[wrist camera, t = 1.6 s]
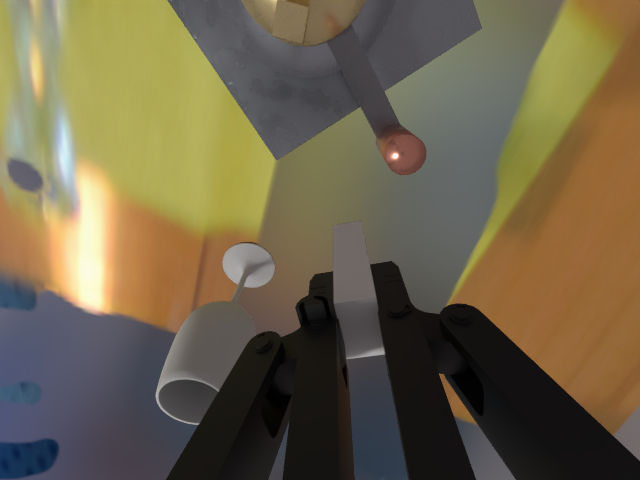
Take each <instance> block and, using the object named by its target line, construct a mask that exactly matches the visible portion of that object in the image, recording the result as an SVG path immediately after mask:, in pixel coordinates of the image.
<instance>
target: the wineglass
mask: <svg viewBox="0 0 640 480" xmlns="http://www.w3.org/2000/svg"><path fill="white" fill-rule="evenodd" d="M223 268H224V271H225V273H226V274H227V276H228V277H229V278H230V279H231V280H232V281H233V282H235V283H237V284H238V286H237V288H236V290H235V293H234V295H233V297H232V300H231V301H230V302H227V301H217V302H211V303H207V304H205V305H203V306H201V307H199V308H198V309H196V310H195V311H193V312H192V313H191V314H190V315H189V316H188V317H187V319H186V320H185V321H184V323H183V324H182V326H181V328H180V329H179V331H178V333H177V335H176V337H175V339H174V342H173V344H172V346H171V349H170V351H169V354H168V357H167V359H166V362H165V365H164V368H163V371H162V373H161V377H160V380H159V383H158V387H157V391H156V400H157V403H158V405H159V406H160V408H161V409H162V410H163V411H164V412H165V413H166V414H167V415H169V416H171V417H172V418H174V419H176V420H178V421H181V422H185V423H188V424H196V425H199V423H200V422H201V420H202V418H203V417H204V415H205V413H206V412H207V410H208V408H209V407H210V405H211V403H212V402H213V400H214V398H215V397H216V395H217V393H218V392H219V390H220V388H221V386H222V385H223V383H224V381H225V380H226V378H227V376H228V375H229V373H230V371H231V370H232V368H233V366H234V365H235V363H236V361H237V360H238V358H239V356H240V355H241V353H242V351H243V350H244V348H245V346H246V345H247V343H248V342H249V341H250V340H251V338H253V337H254V336H256V329H255V326H254V322H253V320H252V318H251V317H250V315H249V314H248V313H247V312H246V311H245V310H244V309H243V308H242V307H240V306H238V305H237V302H238V299H239V296H240V294H241V292H242V289H243V287H259V286H262V285H264V284H266V283H267V282H268V281H270V279H271V278H272V277H273V274H274V271H275V263H274V260H273V258H272V256H271V254H270V253H269V252H268V251H267V250H266V249H264V248H263V247H261V246H259V245H257V244H254V243H248V242H247V243H239V244H235V245H234V246H232V247H230V248H229V249H228V250H227V252H226V253H225V255H224V258H223Z"/></svg>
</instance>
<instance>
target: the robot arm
mask: <svg viewBox="0 0 640 480" xmlns="http://www.w3.org/2000/svg"><path fill="white" fill-rule="evenodd" d="M295 308H296V311H297V315H298V318H299V321H300V324H301V327H300V328H299V329H298V330H296V331H295V332H293V333H291V334H288V335H286V336H284V337H280V335H279V334H277V333H276V332H272V331H268V332H262V333H260V334H257V335H256V336H254V337H253V338H251V340H250V341H249V342H248V343H247V345H246V346H245V348H244V350H243V351H242V353H241V355H240V356H239V358H238V360H237V361H236V363H235V365H234V366H233V368H232V370H231V371H230V373H229V375H228V376H227V378H226V380H225V381H224V383H223V385H222V386H221V388H220V390H219V392H218V393H217V395H216V397H215V398H214V400H213V402H212V403H211V405H210V407H209V408H208V410H207V412H206V413H205V415H204V417H203V418H202V420H201V422H200V423H199V425H198V427H197V428H196V430H195V432H194V433H193V435H192V437H191V439H190V440H189V442H188V444H187V445H186V447H185V449H184V451H183V452H182V454H181V455H180V457H179V459H178V460H177V462H176V464H175V465H174V467H173V469H172V470H171V472H170V474H169V476H168V477H167V479H166V480H268V478H269V476H270V473H271V470H272V467H273V464H274V461H275V459H276V456H277V453H278V450H279V448H280V445H281V442H282V439H283V436H284V434H285V431H286V428H287V425H288V422H289V429H288V438H287V446H286V455H285V463H284V471H283V480H355V476H354V459H353V443H352V427H351V426H352V425H351V409H350V393H349V377H348V376H349V375H348V368H347V364H346V357H347V359H351V358H359V357H366V356H374V355H383V354H385V358H386V364H387V370H388V376H389V380H390V386H391V391H392V396H393V402H394V407H395V413H396V418H397V424H398V429H399V434H400V440H401V444H402V451H403V456H404V461H405V467H406V472H407V477H408V480H476V478H475V476H474V472H473V470H472V467H471V464H470V461H469V458H468V456H467V453H466V450H465V447H464V444H463V441H462V438H461V436H460V433H459V430H458V427H457V424H456V421H455V419H454V416H453V413H452V410H451V407H450V404H449V402H448V399H447V396H446V393H445V390H444V387H443V385H442V382H441V379H440V376H439V373H440V374H444V376H445V378H446V379H447V381H448V382H449V384H450V385H451V387H452V388H453V390H454V391H455V392H456V394H457V395H458V397H459V398H460V400H461V401H462V403H463V404H464V405H465V407H466V408H467V410H468V411H469V413H470V414H471V415H472V417H473V418H474V420H475V421H476V423H477V424H478V426H479V427H480V428H481V430H482V431H483V433H484V434H485V435H486V437H487V438H488V440H489V441H490V443H491V444H492V446H493V447H494V449H495V450H496V452H497V453H498V454H499V456H500V457H501V458H502V460H503V462H504V463H505V464H506V466H507V467H508V469H509V470H510V471H511V473H512V474H513V476H514V477H515V479H516V480H640V461H639V460H638V459H637V458H636V457H635V456H634V455H633V454H632V453H631V452H629V450H627V449H626V448H625V447H624V446H623V445H622V444H621V443H620V442H619V441H618V440H617V439H616V438H615V437H614V436H613V435H611V434H610V433H609V432H608V431H607V430H606V429H605V428H604V427H603V426H602V425H601V424H600V423H599V422H598V421H597V420H596V419H594V418H593V417H592V416H591V415H590V414H589V413H588V412H587V411H586V410H585V409H584V408H583V407H582V406H581V405H580V404H578V403H577V402H576V401H575V400H574V399H573V398H572V397H571V396H570V395H569V394H568V393H567V392H566V391H565V390H564V389H563V388H561V387H560V386H559V385H558V384H557V383H556V382H555V381H554V380H553V379H552V378H551V377H550V376H549V375H548V374H547V373H545V372H544V371H543V370H542V369H541V368H540V367H539V366H538V365H537V364H536V363H535V362H534V361H533V360H532V359H531V358H529V357H528V356H527V355H526V354H525V353H524V352H523V351H522V350H521V349H520V348H519V347H518V346H517V345H516V344H515V343H514V342H512V341H511V340H510V339H509V338H508V337H507V336H506V335H505V334H504V333H503V332H502V331H501V330H500V329H499V328H498V327H496V326H495V325H494V324H493V323H492V322H491V321H490V320H489V319H488V318H487V317H486V316H485V315H484V314H483V313H482V312H481V311H479V310H478V309H476V308H475V307H473V306H470V305H467V304H452V305H449V306H447V307H445V308H443V310H442V311H441V312H440V314H434V313H427V312H423V311H420V310H418V309H416V308H415V307H414V305H413V304H412V303H411V302H410V299H409V297H408V293H407V290H406V287H405V285H404V282H403V279H402V276H401V273H400V270H399V267H398V266H397V265H396V264H394V263H393V262H392V261H390V262H383V263H377V264H371V265H370V263H369V258H368V253H367V248H366V243H365V238H364V233H363V228H362V223H361V221H355V222H350V223H343V224H338V225H333V271H332V272H326V273H320V274H315V275H314V276H313V278H312V279H311V281H310V286H309V295H308V296H306V297H304V298H302V299H301V300H300V301H299V302H298V303H297V305H296V307H295Z"/></svg>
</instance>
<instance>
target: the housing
mask: <svg viewBox="0 0 640 480" xmlns="http://www.w3.org/2000/svg"><path fill="white" fill-rule="evenodd" d="M168 2H169V3H170V5H171V6H172V8H173V9H174V11H175V12H176V13H177V15H178V16H179V18H180V19H181V21H182V22H183V24H184V25H185V27H186V28H187V30H188V31H189V33H190V34H191V35H192V37H193V38H194V40H195V41H196V43H197V44H198V46H199V47H200V49H201V50H202V52H203V53H204V55H205V56H206V58H207V59H208V60H209V62H210V63H211V65H212V66H213V68H214V69H215V71H216V72H217V74H218V75H219V77H220V78H221V80H222V81H223V83H224V84H225V85H226V87H227V88H228V90H229V91H230V93H231V94H232V96H233V97H234V99H235V100H236V102H237V103H238V105H239V106H240V107H241V109H242V110H243V112H244V113H245V115H246V116H247V118H248V119H249V121H250V122H251V124H252V125H253V127H254V128H255V130H256V131H257V132H258V134H259V135H260V137H261V138H262V140H263V141H264V143H265V144H266V146H267V147H268V149H269V150H270V152H271V153H272V155H273V156H274V157H275V159H276V160H278V159H280V158H281V157H283V156H284V155H286V154H287V153H289V152H291V151H292V150H294V149H295V148H297V147H298V146H300V145H301V144H303V143H305V142H306V141H308V140H309V139H311V138H312V137H314V136H315V135H317V134H319V133H320V132H322V131H323V130H325V129H326V128H328V127H329V126H331V125H333V124H334V123H335V122H337V121H339V120H340V119H342V118H343V117H345V116H346V115H348V114H350V113H351V112H353V111H354V110H356V109H357V108H359V107H360V105H359V103H358V101H357V99H356V97H355V96H354V94H353V92H352V90H351V88H350V86H349V84H348V82H347V80H346V78H345V77H344V75H343V73H342V71H341V69H340V67H339V65H338V63H337V61H336V59H335V58H334V56H333V54H332V52H331V50H330V48H329V46H328V44H327V43H325V44H322V45H318V46H313V47H300V46H294V45H291V44H288V43H285V42H283V41H281V40H279V39H277V38H275V37H274V36H272V35H271V34H270V33H268V32H267V31H265V30H264V29H263V28H262V27H261V26H260V25H259V24H258V23H257V22H256V21H255V20H254V19H253V18H252V16H251V15H250V14H249V12H248V11H247V9H246V8H245V6H244V4H243V2H242V0H168ZM352 27H353V29H354V31H355V33H356V35H357V37H358V39H359V41H360V43H361V45H362V47H363V49H364V51H365V53H366V55H367V57H368V59H369V61H370V64H371V66H372V68H373V70H374V72H375V74H376V76H377V78H378V80H379V82H380V84H381V86H382V88H383V90H384V91H385V90H387V89H388V88H390V87H392V86H393V85H395V84H396V83H398V82H399V81H401V80H402V79H404V78H405V77H407V76H408V75H410V74H412V73H413V72H415V71H416V70H418V69H419V68H421V67H423V66H424V65H426V64H427V63H429V62H430V61H432V60H433V59H435V58H436V57H438V56H440V55H441V54H443V53H444V52H446V51H447V50H449V49H451V48H452V47H454V46H455V45H457V44H458V43H460V42H461V41H463V40H464V39H466V38H467V37H469V36H471V35H472V34H474V33H475V32H477V31H478V30H480V29H482V27H481V24H480V21H479V18H478V15H477V12H476V9H475V6H474V3H473V0H366V1H365V3H364V5H363V7H362V9H361V11H360V12H359V14H358V16H357V17H356V19H355V20H354V22H353V23H352Z"/></svg>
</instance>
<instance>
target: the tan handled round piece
mask: <svg viewBox="0 0 640 480" xmlns="http://www.w3.org/2000/svg"><path fill="white" fill-rule="evenodd" d="M365 1H366V0H242V2H243V4H244V6H245V8H246V9H247V11H248V12H249V14H250V15H251V16H252V18H253V19H254V20H255V21H256V22H257V23H258V24H259V25H260V26H261V27H262V28H263V29H264V30H265V31H267V32H268V33H270V34H271V35H272V36H274V37H275V38H277V39H279V40H281V41H283V42H285V43H288V44H291V45H294V46H300V47H313V46H318V45H322V44H325V43H327V44H328V46H329V48H330V50H331V52H332V54H333V56H334V58H335V59H336V61H337V63H338V65H339V67H340V69H341V71H342V73H343V75H344V77H345V78H346V80H347V82H348V84H349V86H350V88H351V90H352V92H353V94H354V96H355V97H356V99H357V101H358V103H359V105H360V107H361V109H362V111H363V113H364V114H365V116H366V118H367V120H368V122H369V124H370V126H371V128H372V130H373V132H374V134H375V135H376V145H377V148H378V149H379V151H380V153H381V155H382V156H383V158H384V159H385V161H386V162H387V164H388V166H389V168H390V169H391V170H392V171H393V172H395V173H397V174H399V175H409V174H412V173H414V172H416V171H417V170H419V169H420V168H421V166H422V165H423V163H424V161H425V159H426V148H425V145H424V143H423V142H422V141H421V140H420V139H419V138H417V137H416V136H415V135H413V134H412V133H411V132H410V131H408V130H407V129H405V128H404V127H403V126H402V125H400V123H399V121H398V119H397V117H396V115H395V113H394V111H393V109H392V107H391V105H390V103H389V101H388V98H387V96H386V95H385V92H384V90H383V88H382V86H381V84H380V82H379V80H378V78H377V76H376V74H375V72H374V70H373V68H372V66H371V64H370V61H369V59H368V57H367V55H366V53H365V51H364V49H363V47H362V45H361V43H360V41H359V39H358V37H357V35H356V33H355V31H354V29H353V27H352V23H353V22H354V20H355V19H356V17H357V16H358V14H359V12H360V11H361V9H362V7H363V5H364V3H365Z"/></svg>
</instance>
